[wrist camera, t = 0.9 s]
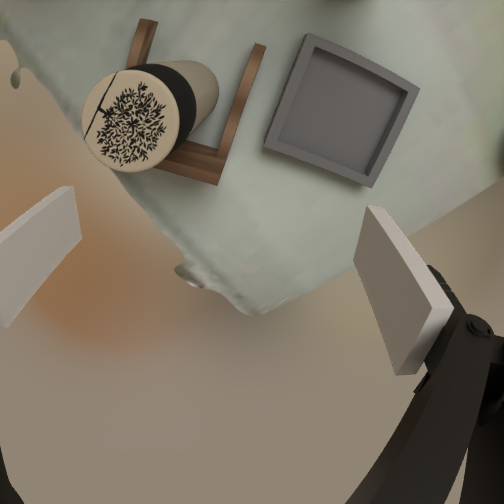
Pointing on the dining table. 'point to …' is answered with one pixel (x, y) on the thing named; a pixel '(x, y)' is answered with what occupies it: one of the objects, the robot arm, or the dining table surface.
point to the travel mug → (146, 112)
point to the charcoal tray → (340, 111)
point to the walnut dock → (189, 153)
